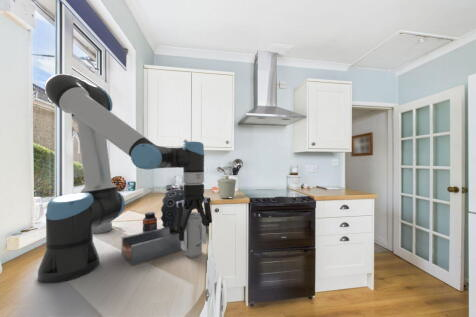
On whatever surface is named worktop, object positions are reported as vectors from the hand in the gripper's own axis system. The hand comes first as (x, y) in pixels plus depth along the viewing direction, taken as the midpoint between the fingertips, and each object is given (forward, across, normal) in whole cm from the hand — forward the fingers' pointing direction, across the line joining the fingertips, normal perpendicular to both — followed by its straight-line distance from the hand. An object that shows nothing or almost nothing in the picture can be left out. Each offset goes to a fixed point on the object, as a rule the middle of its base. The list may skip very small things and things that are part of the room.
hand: (193, 245), depth 78 cm
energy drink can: (+3, 0, 0) cm, 3 cm away
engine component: (+3, -18, +58) cm, 61 cm away
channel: (+3, -10, +13) cm, 17 cm away
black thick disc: (+3, +10, +31) cm, 33 cm away
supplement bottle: (+3, -5, +28) cm, 29 cm away
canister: (+3, +88, +83) cm, 121 cm away
